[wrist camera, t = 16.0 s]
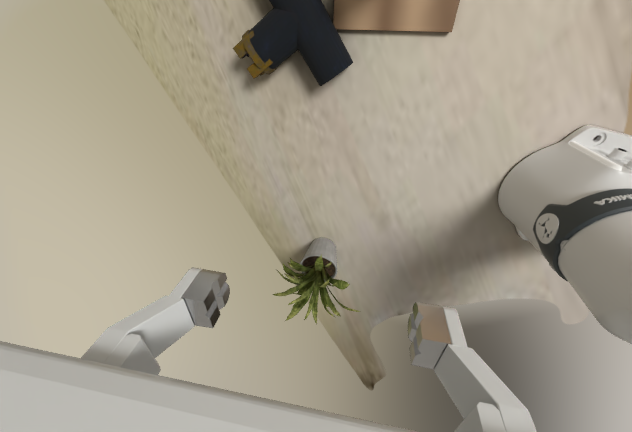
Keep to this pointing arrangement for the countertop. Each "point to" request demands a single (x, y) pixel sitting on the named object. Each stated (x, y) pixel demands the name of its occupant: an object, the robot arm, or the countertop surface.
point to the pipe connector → (295, 40)
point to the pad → (395, 15)
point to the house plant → (314, 278)
